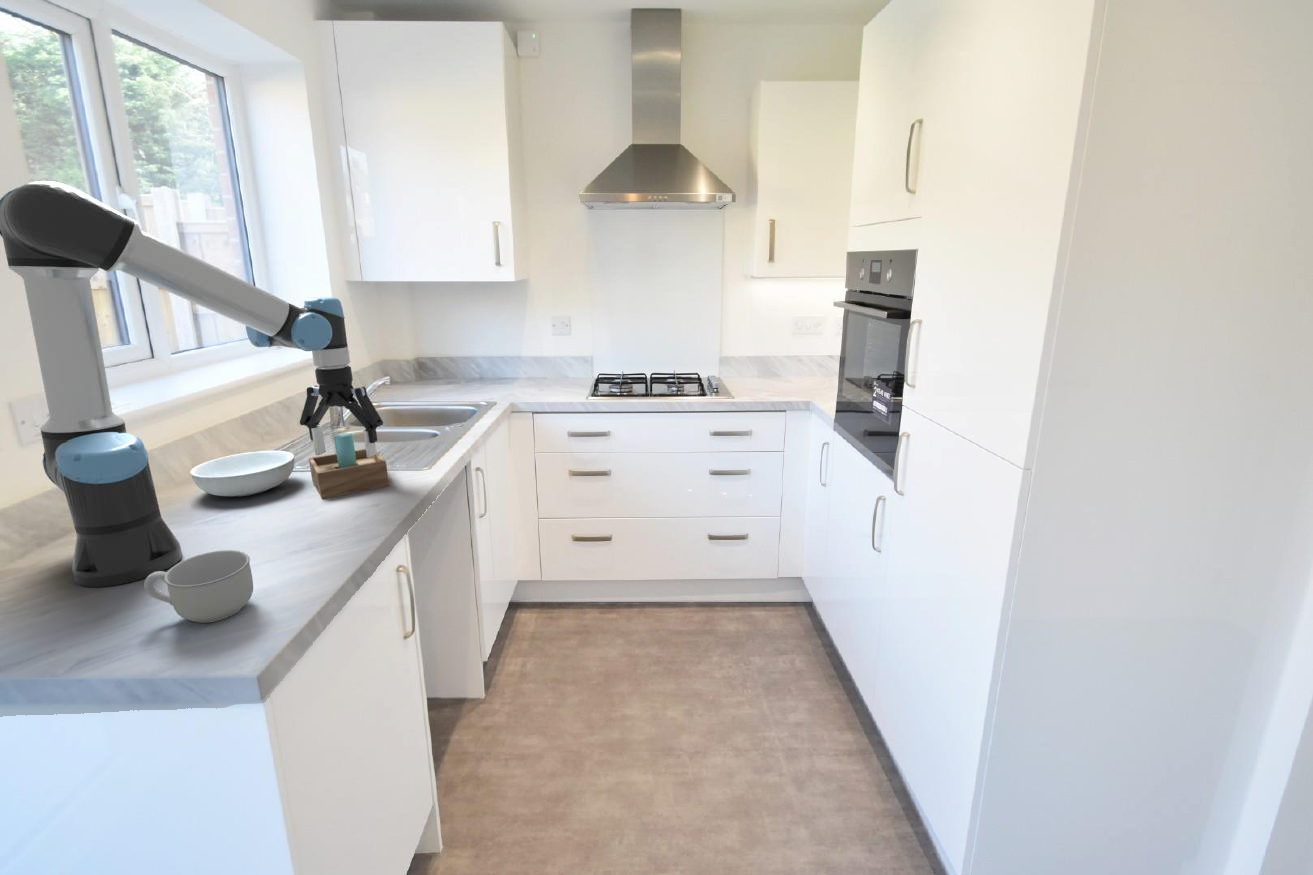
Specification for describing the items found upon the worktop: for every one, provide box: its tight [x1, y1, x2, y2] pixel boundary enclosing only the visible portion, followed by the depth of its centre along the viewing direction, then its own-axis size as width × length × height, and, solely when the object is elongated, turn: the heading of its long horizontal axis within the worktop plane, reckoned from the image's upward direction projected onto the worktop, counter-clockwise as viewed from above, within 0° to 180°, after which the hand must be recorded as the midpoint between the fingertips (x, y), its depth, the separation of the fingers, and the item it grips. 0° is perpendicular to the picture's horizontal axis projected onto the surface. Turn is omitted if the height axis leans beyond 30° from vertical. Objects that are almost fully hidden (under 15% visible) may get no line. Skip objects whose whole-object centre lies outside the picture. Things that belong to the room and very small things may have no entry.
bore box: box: [308, 448, 390, 499], centre depth 157 cm, size 15×15×6 cm
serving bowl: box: [189, 450, 295, 497], centre depth 154 cm, size 21×21×7 cm
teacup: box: [143, 549, 254, 624], centre depth 100 cm, size 14×11×8 cm
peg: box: [333, 433, 357, 469], centre depth 156 cm, size 4×4×12 cm
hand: (346, 454), depth 156 cm, fingers open, 13 cm apart
